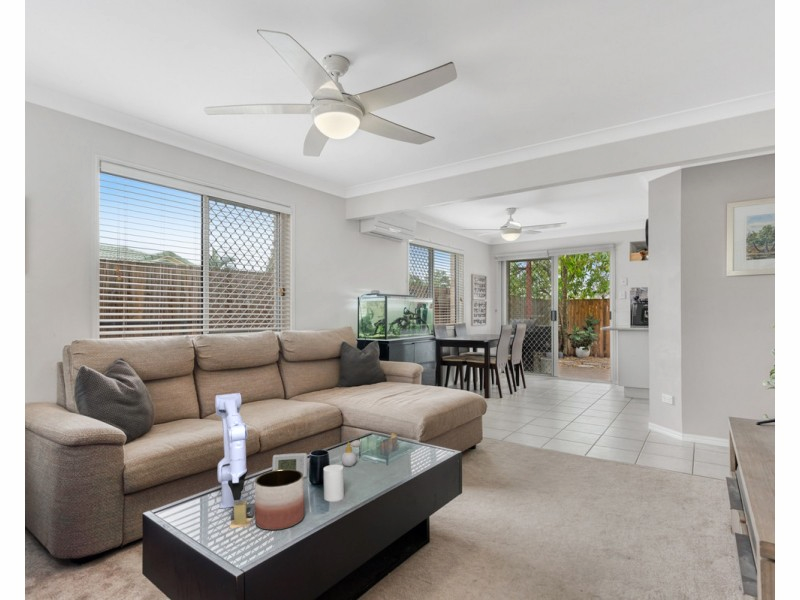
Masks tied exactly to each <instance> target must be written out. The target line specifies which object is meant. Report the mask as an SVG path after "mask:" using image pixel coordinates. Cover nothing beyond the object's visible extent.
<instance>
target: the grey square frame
mask: <svg viewBox="0 0 800 600" xmlns="http://www.w3.org/2000/svg"><path fill="white" fill-rule="evenodd" d="M230 514H231V515H230V522H231V521H232V520H234V507H232V511H231V513H230ZM247 518H251V519H254V518H255V502H254V503H247Z"/></svg>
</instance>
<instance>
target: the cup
mask: <svg viewBox="0 0 800 600" xmlns="http://www.w3.org/2000/svg"><path fill="white" fill-rule="evenodd" d="M344 498H345V486H344V466H343V465H341V464H330V465H326V466H324V467H323V499H324V501H327V502H339V501H342V500H343V499H344Z"/></svg>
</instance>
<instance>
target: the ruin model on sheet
mask: <svg viewBox="0 0 800 600" xmlns="http://www.w3.org/2000/svg"><path fill="white" fill-rule="evenodd" d="M389 434H390V436H391V437H388V438H385V439H383V440H380V441H379V445H380V446H379V448H380V450H379V451H380V456H383V457H385V456H387V455H389V454H391V453H394V452H396V451H398V449H399V445H398V442H399V441H398V435H397V434H395V433H394V432H392V433H389Z"/></svg>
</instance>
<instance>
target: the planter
mask: <svg viewBox="0 0 800 600" xmlns="http://www.w3.org/2000/svg"><path fill="white" fill-rule="evenodd" d="M304 484H305V483H304V478H303V473H302V472H300V471H297V470H292V469H281V470H274V471H272V470H271V471H268V472H264V473H262V474H260V475H258V476H257V477H256V478H255V479H254V503H255V512H254V520H255V521H254V522H255V525H257V527H259V528H261V529H263V530H266V531H267V530H268V531H269V530H270V531H278V530H284V529H288V528H291V527H293V526H296V525H298V523H300V522H301V521H302V520H303V519H304V518H305V509H306V508H305V488H304V487H305V486H304Z"/></svg>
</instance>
